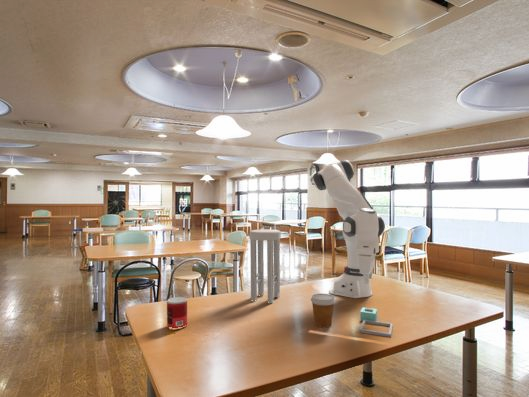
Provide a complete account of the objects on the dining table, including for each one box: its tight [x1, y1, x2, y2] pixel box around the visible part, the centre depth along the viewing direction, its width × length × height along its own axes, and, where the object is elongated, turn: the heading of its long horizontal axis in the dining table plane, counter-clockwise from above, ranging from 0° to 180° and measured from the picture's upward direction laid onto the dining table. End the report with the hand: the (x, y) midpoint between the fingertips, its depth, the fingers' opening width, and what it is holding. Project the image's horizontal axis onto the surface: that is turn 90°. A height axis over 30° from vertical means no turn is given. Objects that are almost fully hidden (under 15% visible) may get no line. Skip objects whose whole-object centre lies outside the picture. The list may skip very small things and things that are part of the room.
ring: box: [359, 306, 378, 322], centre depth 137 cm, size 6×6×4 cm
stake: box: [358, 307, 379, 322], centre depth 137 cm, size 7×7×5 cm
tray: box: [359, 320, 394, 338], centre depth 127 cm, size 11×11×2 cm
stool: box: [249, 228, 282, 304], centre depth 169 cm, size 16×16×35 cm
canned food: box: [166, 296, 188, 328], centre depth 133 cm, size 8×8×11 cm
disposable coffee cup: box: [310, 293, 336, 328], centre depth 132 cm, size 10×10×12 cm
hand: (368, 280), depth 137 cm, fingers open, 8 cm apart
